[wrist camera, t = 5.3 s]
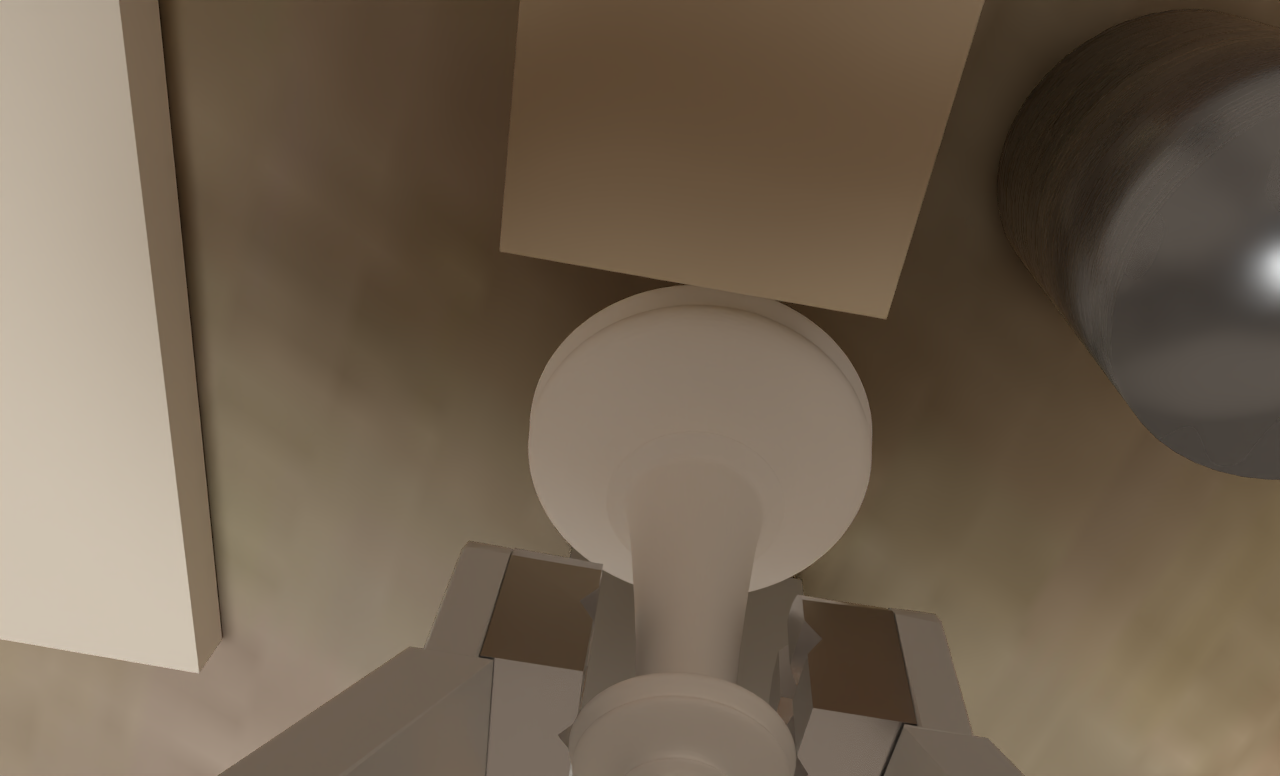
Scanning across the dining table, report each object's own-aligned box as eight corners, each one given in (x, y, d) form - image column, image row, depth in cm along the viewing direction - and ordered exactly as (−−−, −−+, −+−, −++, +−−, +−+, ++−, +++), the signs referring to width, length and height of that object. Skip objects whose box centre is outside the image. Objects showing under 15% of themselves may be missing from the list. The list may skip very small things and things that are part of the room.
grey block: (574, 537, 18) (531, 718, 14) (801, 576, 18) (820, 769, 14) (551, 699, 21) (508, 894, 17) (754, 734, 20) (759, 938, 17)
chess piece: (667, 617, 15) (587, 1602, 7) (461, 405, 14) (-2, 1350, 5) (936, 474, 14) (1303, 1557, 5) (739, 211, 12) (767, 1149, 3)
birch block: (599, -183, 12) (535, -207, 9) (932, -125, 12) (1023, -123, 9) (562, 150, 15) (499, 252, 11) (846, 199, 15) (886, 318, 11)
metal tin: (1057, -16, 13) (1222, 41, 9) (1374, 37, 13) (1704, 120, 8) (958, 278, 15) (1051, 444, 11) (1231, 324, 15) (1434, 508, 11)
